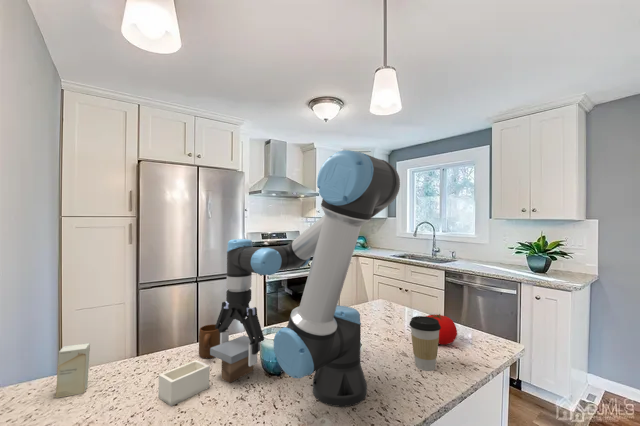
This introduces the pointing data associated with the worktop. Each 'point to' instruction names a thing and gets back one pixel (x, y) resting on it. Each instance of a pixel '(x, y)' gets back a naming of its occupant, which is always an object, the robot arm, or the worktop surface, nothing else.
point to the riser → (235, 369)
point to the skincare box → (72, 370)
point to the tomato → (445, 329)
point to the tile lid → (232, 349)
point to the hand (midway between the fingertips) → (237, 358)
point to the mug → (208, 340)
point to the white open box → (183, 382)
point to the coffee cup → (425, 341)
